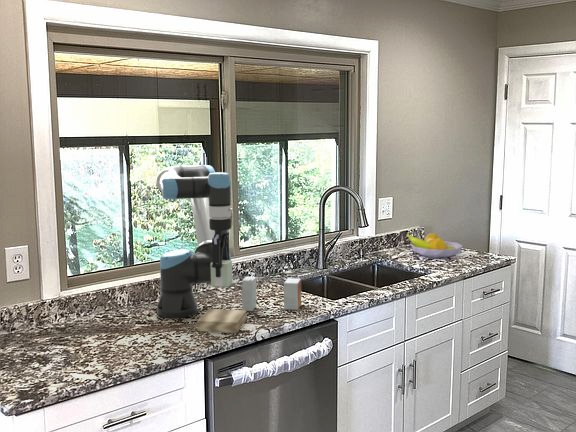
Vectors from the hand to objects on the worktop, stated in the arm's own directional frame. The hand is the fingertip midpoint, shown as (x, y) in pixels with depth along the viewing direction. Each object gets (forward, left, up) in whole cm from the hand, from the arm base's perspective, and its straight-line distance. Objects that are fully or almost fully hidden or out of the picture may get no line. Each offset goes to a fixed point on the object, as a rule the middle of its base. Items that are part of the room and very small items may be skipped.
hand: (221, 283), depth 212 cm
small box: (+21, +25, -15) cm, 36 cm away
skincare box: (+5, +20, -15) cm, 26 cm away
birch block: (0, 0, -16) cm, 16 cm away
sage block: (0, 0, 0) cm, 0 cm away
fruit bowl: (+81, +128, -16) cm, 152 cm away
